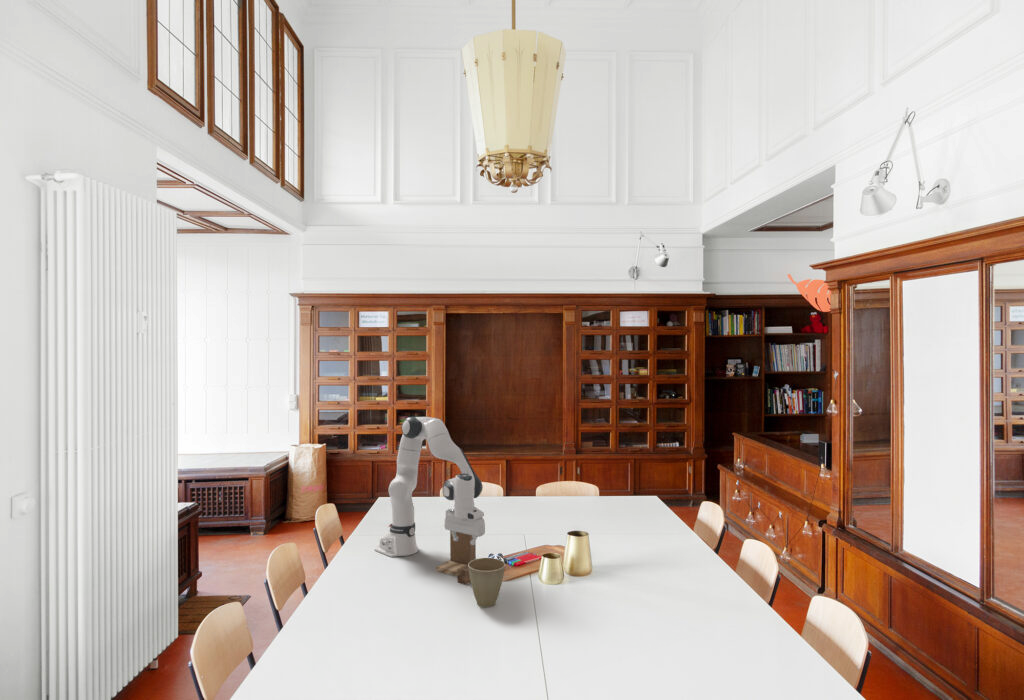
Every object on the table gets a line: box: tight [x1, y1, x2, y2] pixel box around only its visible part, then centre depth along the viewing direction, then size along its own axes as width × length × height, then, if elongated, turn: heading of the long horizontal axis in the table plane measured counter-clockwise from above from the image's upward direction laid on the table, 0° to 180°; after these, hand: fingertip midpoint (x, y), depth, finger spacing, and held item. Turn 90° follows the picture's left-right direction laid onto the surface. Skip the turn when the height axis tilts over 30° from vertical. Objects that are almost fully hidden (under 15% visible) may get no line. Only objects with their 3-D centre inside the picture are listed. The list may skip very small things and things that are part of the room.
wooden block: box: [449, 530, 477, 565], centre depth 291 cm, size 10×10×20 cm
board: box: [436, 560, 468, 577], centre depth 276 cm, size 24×9×2 cm, turn 57°
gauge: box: [456, 565, 471, 585], centre depth 269 cm, size 5×12×6 cm, turn 147°
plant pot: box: [468, 557, 506, 608], centre depth 243 cm, size 15×15×16 cm
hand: (464, 542), depth 266 cm, fingers open, 8 cm apart
